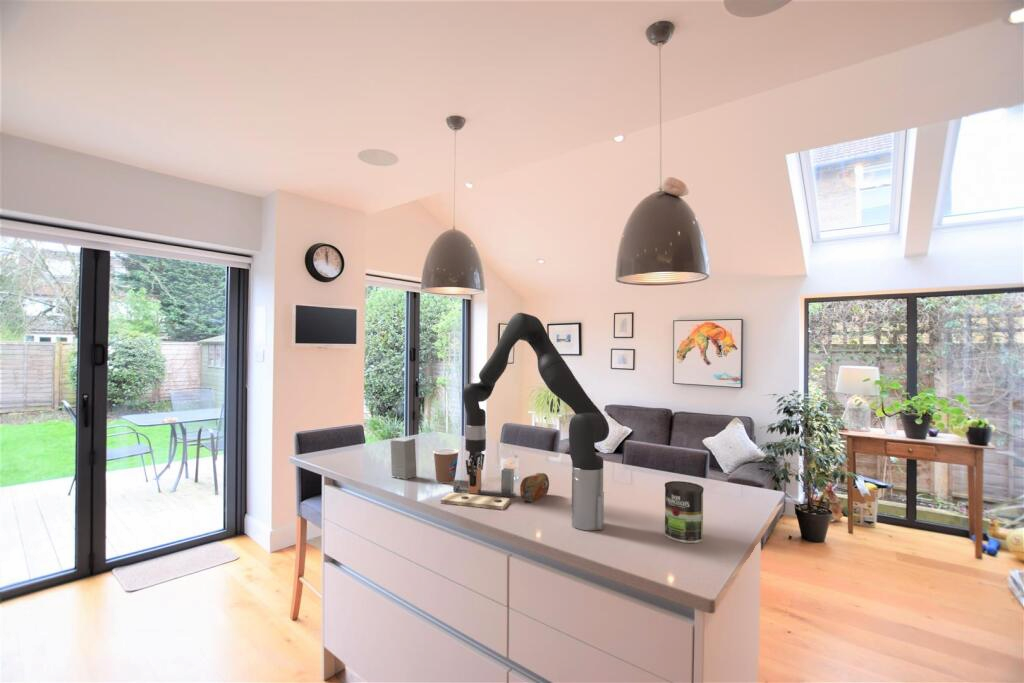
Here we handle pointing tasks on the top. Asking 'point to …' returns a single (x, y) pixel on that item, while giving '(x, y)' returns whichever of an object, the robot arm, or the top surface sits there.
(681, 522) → the coffee can
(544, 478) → the brown rounded flat piece
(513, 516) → the top surface
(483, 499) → the hole board
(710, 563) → the top surface
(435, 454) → the coffee cup
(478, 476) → the block
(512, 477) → the dividers rail
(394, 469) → the skincare box
